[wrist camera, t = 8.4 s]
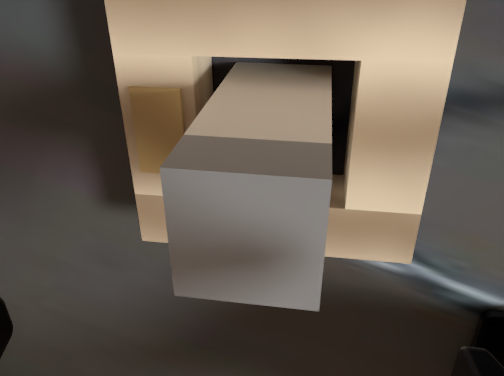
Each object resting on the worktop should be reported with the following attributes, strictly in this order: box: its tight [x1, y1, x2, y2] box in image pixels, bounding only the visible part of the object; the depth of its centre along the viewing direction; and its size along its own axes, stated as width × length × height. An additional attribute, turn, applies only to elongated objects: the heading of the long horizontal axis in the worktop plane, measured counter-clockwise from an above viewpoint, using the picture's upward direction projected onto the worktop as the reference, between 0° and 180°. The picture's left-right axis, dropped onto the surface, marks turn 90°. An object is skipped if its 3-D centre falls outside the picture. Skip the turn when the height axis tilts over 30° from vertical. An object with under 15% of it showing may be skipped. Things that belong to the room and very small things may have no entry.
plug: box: [160, 62, 332, 311], centre depth 16 cm, size 4×4×10 cm
